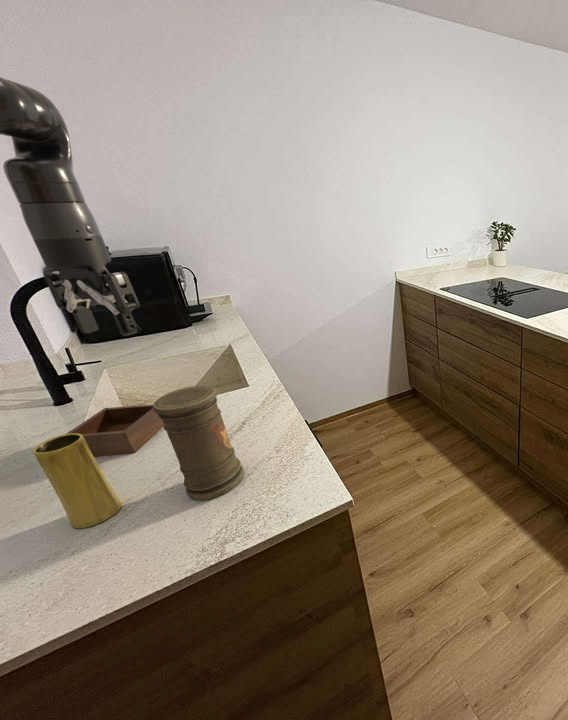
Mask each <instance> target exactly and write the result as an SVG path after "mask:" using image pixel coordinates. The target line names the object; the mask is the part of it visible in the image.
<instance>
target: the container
mask: <svg viewBox="0 0 568 720" xmlns="http://www.w3.org/2000/svg"><path fill="white" fill-rule="evenodd" d="M217 396H218V392H217V390H216V388H214V387H212V386H210V385H193V386H186V387H182V388H179V389H176V390H173V391H170V392H168V393H165V394H163V395H161V396H160V397H158V398H157V399H156V400H155V401H154V403H152V404H153V410H154V412H156V413H157V414H158V416H159V418H161V420H162V421H163V423H164V427H163V429H164V431H165V432H166V434H167V437H168V439H169V441H170V444H171V446H172V448H173V451H174V453H175V456H176V458H177V462H178V463H179V470H180V472H181V473H182V475H183V478H184V480H183V485H184V487H185V492H186V494H187V496H188V497H190V498H191V499H192V500H196V501H207V500H211V499H215V498H218V497H220V496H222V495H225V494H227V493H228V492H230V491H231V490H233V489H234V488H236V487H237V486H238V485H239V484H240V483H241V482H242V481H243V478H244V476H245V468H244V466H243V465H242V463H241V460H240V459H239V458H237V456H236V452H235V448H234V447H233V445H232V443H231V439H230V437H229V434H228V431H227V428H226V424H225V422H224V419H223V416H222V414H221V413H222V411H221V409H220V408H219V407H218V397H217Z"/></svg>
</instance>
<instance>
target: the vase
mask: <svg viewBox="0 0 568 720" xmlns="http://www.w3.org/2000/svg"><path fill="white" fill-rule="evenodd" d="M32 452H33V455H34V457H35V458H36V460H37V461H38V463H39V465H40V467H41V469H42V471H43V473H44V474H45V477H46V478H47V479H48V481H49V483H50V485H51V486H52V488H53V490H54V492H55V494H56V495H57V498H58V499H59V501H60V503H61V506H62V507H63V510H64V512H65V513H66V515H67V517H68V520H69V521H70V525H71V527H73V528H75V529H85V528H90V527H93V526H96V525H98V524H101V523H103V522H105V521H107V520H109V519H110V518H112V517H114V516H115V514H117V513H118V512H119V510H120V509H121V508H122V505H123V502H122V501H121V500H120V498H119V497H118V495H117V493H116V492H115V490H114V489H113V486H112V484H110V481H109V480H108V479H107V478H106V475H105V474H104V472H103V471H102V469H101V467H100V466H99V464H98V462H97V460H96V458H95V456H93V455H92V453H91V451H90V449H89V447H88V445H87V443H86V441H85V439H84V437H83V436H82V435H81V434H78V433H70V434H67V433H65V434H64V433H63V434H61V435H57V436H54V437H52V438H49V439H47V440H44V441H43V442H41V443H39V444H37V445H36V446H34V448H33V449H32Z"/></svg>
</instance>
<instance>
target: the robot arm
mask: <svg viewBox="0 0 568 720" xmlns="http://www.w3.org/2000/svg"><path fill="white" fill-rule="evenodd" d="M0 135H1V136H5V137H10V138H11V141H12V145H13V149H14V157H11V158H8V159H6V160H5V161H3V165H2V169H3V172H4V175H5V177H6V179H7V182H8V184H9V185H10V188H11V190H12V192H13V194H14V196H15V198H16V200H17V203H18V205H19V208H20V211H21V214H22V218H23V220H24V223H25V225H26V227H27V229H28V232H29V234H30V236H31V238H32V240H33V242H34V245H35V246H36V249H37V251H38V253H39V255H40V257H41V259H42V261H43V263H44V266H45V267H46V268H48V269H51V270H56V271H50V272H44V273H43V277H44V279H45V281H46V282H45V283H46V284H47V286H48V288H49V291H50V293H51V296H52V298H53V300H54V303H55V305H56V307H57V308H59V310H60V309H61V310H62V309H66V310H67V312H68V313H72V315H73V318H74V319H75V321H76V324H77V326H78V328H79V330H80V332H81V333H82V334H91V333H94V332H97V331H99V329H100V328H99V325H98V324H97V323H98V322H97V321H96V319H95V317H94V314H93V312H92V310H91V309H90V305H91V304H90V303H91V301H96V302H97V304H98V305H101V306H105V307H106V308H107V309H108V310H109V311H110V312H111V313H112V314H113V315H112V316H113V319H114V321H115V324H116V326H117V329H118V331H119V333H120V335H121V336H124V337H129V336H132V335H135V334H137V333H138V332H139V331H138V326H137V324H136V322H135V319H134V316H133V314H132V311H133V310H136V309H139V308H140V307H141V303H140V302H139V301H140V300H139V299H138V297H137V295H136V292H135V290H134V287H133V285H132V283H131V281H130V279H129V276H128V274H127V272H125V271H119V272H113V273H112V272H110V271H109V270H108V268H107V267H106V266H107V265H108V264H110V263H111V261H112V258H111V255H110V253H109V250H108V248H107V245H106V244H105V241H104V239H103V236H102V234H101V231H100V229H99V226H98V223H97V221H96V219H95V216H94V215H93V213H92V211H91V209H90V208H89V206H88V204H87V202H86V199H85V197H84V193H83V192H82V190H81V189H82V188H81V186H80V185H79V181H78V180H77V178H76V176H75V173H74V164H73V161H74V160H73V154H72V147H71V141H70V140H71V139H70V134H69V130H68V127H67V124H66V122H65V120H64V117H63V116H62V114H61V112H60V110H59V109H58V108H57V106H56V105H55V104H54V102H52V101H51V100H50V98H48V97H47V96H46V95H45V94H44V93H41V92H40V91H39V90H37V89H35V88H33V87H30V86H27V85H24V84H21V83H18V82H16V81H12V80H9V79H6V78H4V77H2V76H1V77H0ZM62 294H64V295H62ZM125 296H126V297H127V298H128V301H127V299H125ZM115 303H116V304H115Z"/></svg>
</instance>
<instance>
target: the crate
mask: <svg viewBox="0 0 568 720" xmlns="http://www.w3.org/2000/svg"><path fill="white" fill-rule="evenodd" d="M153 404H154V403H152V404H141V405H126V406H114V407H104V408H103V409H101V410H99V411H98V412H97V413H95V414H93V415H92V416H91V417H89V418H88V419H86V420H84V421H83V422H81V423H79V425H77V426H75V427H74V428H73V429H71V430H69V431H68V432H67V433H66V434H70V433H78V434H81V435H82V436H83V437H84V439H85V441H86V443H87V445H88V447H89V449H90V451H91V453H92V455H93V456H94V457H103V456H115V455H126V454H135V453H136V452H138V451H139V450H140V449H141V448H142V447H144V445H145V444H146V443H147V442H149V441H150V440H151V439H152V438H153V437H154V436H156V435H157V434H158V433H159V432H160V431H161V430H162V429H163V428H164V423H163V421H162V420H161V418H159V416H158V414H157V413H156V412H154V410H153ZM162 427H163V428H162ZM161 428H162V429H161ZM160 429H161V430H160ZM159 430H160V431H159ZM158 431H159V432H158Z"/></svg>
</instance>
